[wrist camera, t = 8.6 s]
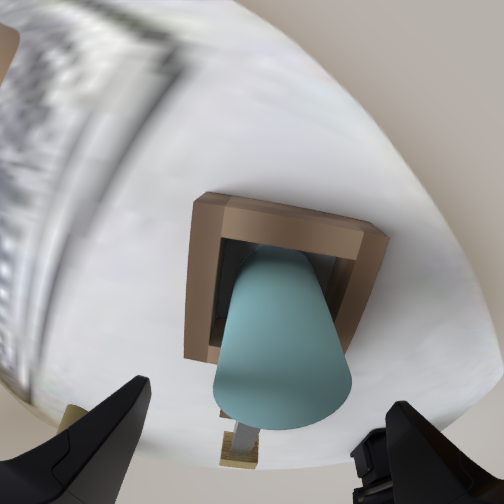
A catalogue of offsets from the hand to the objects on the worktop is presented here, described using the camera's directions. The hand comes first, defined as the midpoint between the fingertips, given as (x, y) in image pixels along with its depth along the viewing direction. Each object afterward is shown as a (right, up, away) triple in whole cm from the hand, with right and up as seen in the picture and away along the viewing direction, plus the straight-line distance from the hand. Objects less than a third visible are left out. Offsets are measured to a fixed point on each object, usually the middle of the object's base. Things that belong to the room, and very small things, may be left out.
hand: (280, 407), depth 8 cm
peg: (+1, +3, +9) cm, 10 cm away
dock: (0, +1, +10) cm, 10 cm away
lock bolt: (-1, -8, +11) cm, 13 cm away
